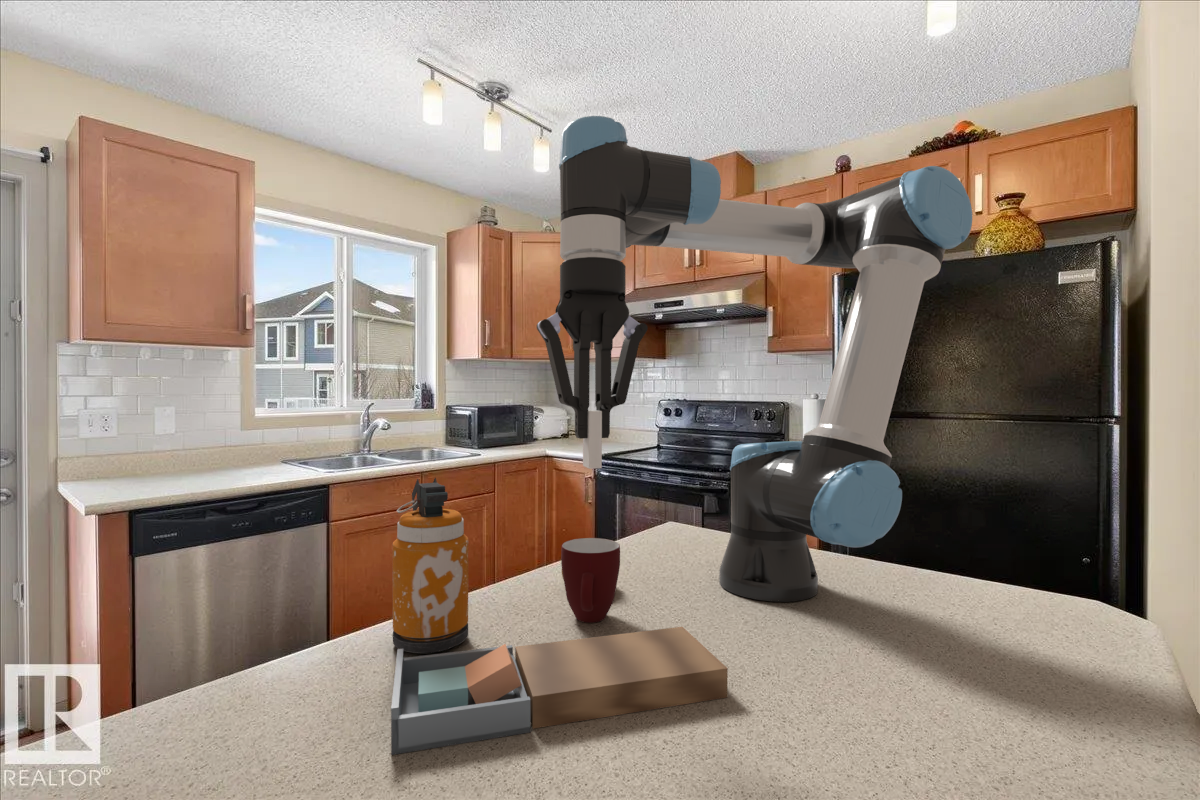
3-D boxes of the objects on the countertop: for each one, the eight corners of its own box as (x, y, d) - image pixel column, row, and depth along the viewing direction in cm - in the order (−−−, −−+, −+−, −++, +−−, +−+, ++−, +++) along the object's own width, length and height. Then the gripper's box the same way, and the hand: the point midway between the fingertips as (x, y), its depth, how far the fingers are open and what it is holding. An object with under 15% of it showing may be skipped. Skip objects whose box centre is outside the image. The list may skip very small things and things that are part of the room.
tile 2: (515, 664, 62) (505, 643, 61) (521, 685, 57) (511, 663, 57) (474, 687, 61) (464, 666, 60) (478, 709, 56) (467, 687, 56)
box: (511, 671, 65) (511, 636, 65) (530, 732, 54) (530, 688, 54) (397, 687, 62) (397, 649, 62) (391, 754, 51) (391, 708, 50)
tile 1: (418, 672, 59) (418, 696, 59) (418, 694, 55) (418, 721, 55) (464, 666, 60) (464, 690, 60) (468, 687, 56) (468, 713, 56)
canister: (399, 665, 67) (398, 489, 67) (385, 629, 77) (385, 476, 77) (476, 649, 71) (476, 483, 71) (454, 617, 81) (454, 472, 81)
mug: (624, 636, 75) (625, 558, 75) (560, 638, 74) (561, 559, 74) (617, 606, 86) (617, 537, 85) (561, 607, 85) (561, 538, 85)
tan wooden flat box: (682, 651, 71) (682, 626, 71) (727, 697, 60) (727, 668, 60) (515, 673, 65) (515, 646, 65) (532, 728, 55) (532, 696, 54)
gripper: (635, 271, 73) (634, 461, 74) (530, 264, 70) (530, 464, 70) (658, 258, 66) (657, 469, 66) (543, 250, 62) (542, 473, 63)
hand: (592, 466), depth 68 cm, fingers closed
